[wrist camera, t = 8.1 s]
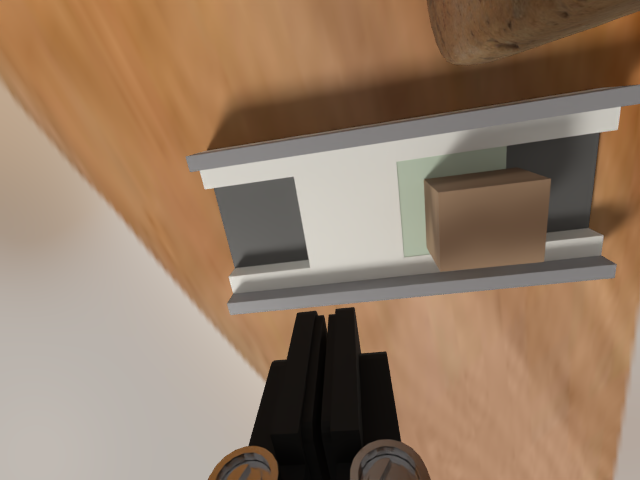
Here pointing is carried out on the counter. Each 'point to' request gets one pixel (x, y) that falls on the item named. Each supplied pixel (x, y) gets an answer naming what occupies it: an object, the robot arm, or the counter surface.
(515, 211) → the walnut block
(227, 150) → the board
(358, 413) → the robot arm
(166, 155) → the counter surface
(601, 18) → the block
